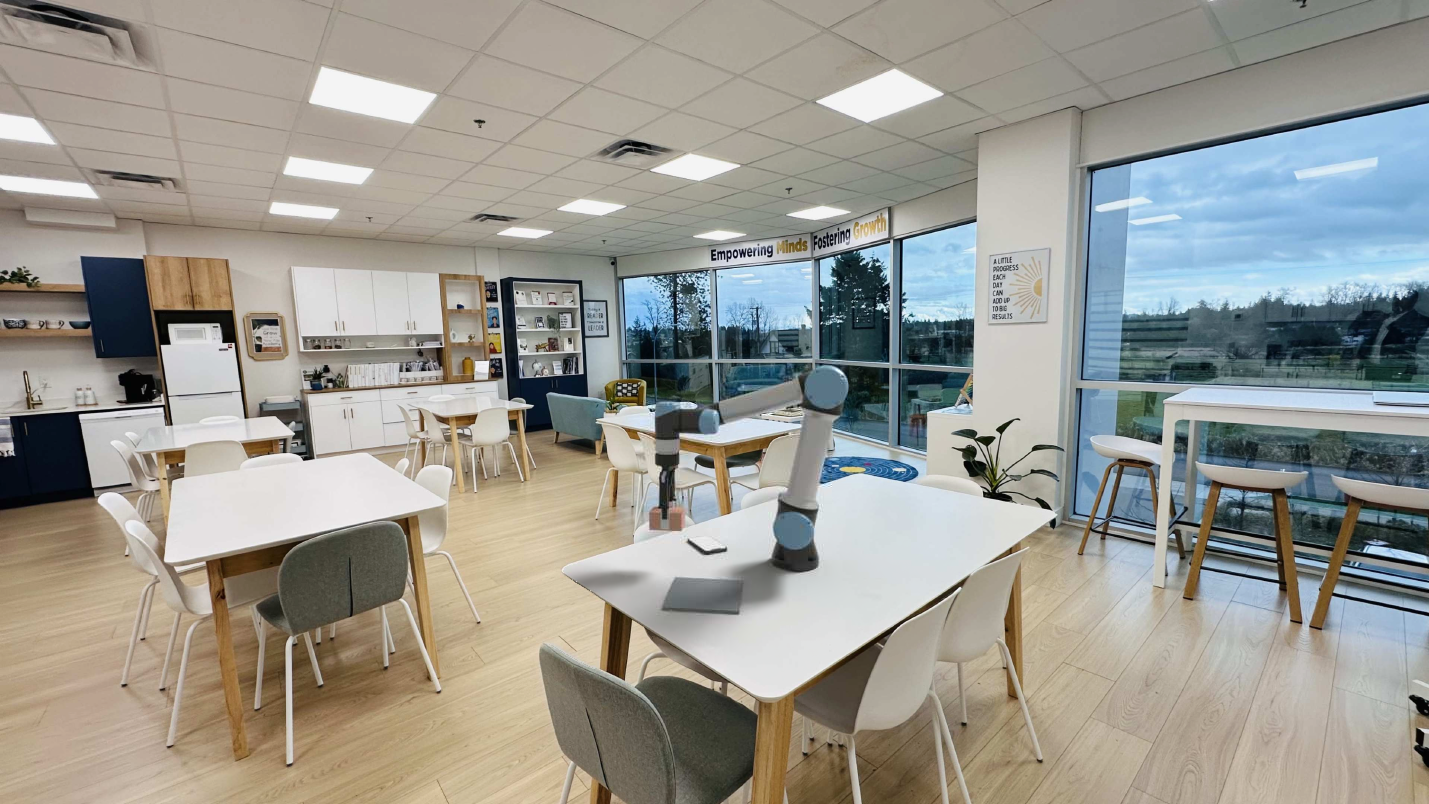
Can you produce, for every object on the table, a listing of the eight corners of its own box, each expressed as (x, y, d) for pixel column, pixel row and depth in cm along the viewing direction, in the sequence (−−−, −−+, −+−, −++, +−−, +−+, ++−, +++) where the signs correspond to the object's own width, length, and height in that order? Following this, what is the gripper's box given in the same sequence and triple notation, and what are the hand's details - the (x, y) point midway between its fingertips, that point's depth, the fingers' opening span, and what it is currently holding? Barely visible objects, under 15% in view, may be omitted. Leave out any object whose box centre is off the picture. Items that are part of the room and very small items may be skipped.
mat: (742, 582, 163) (742, 580, 163) (738, 614, 144) (738, 611, 144) (675, 579, 165) (675, 577, 165) (662, 610, 146) (662, 607, 146)
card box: (685, 524, 175) (685, 507, 175) (681, 531, 169) (681, 513, 168) (654, 523, 176) (654, 506, 176) (649, 529, 170) (649, 512, 170)
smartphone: (686, 542, 200) (705, 556, 186) (686, 538, 200) (705, 551, 186) (708, 539, 204) (728, 552, 190) (708, 535, 204) (728, 547, 190)
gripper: (661, 446, 181) (661, 516, 183) (648, 457, 161) (648, 535, 163) (684, 447, 180) (684, 516, 182) (673, 458, 161) (673, 536, 163)
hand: (667, 525), depth 173 cm, fingers closed on card box, 6 cm apart
